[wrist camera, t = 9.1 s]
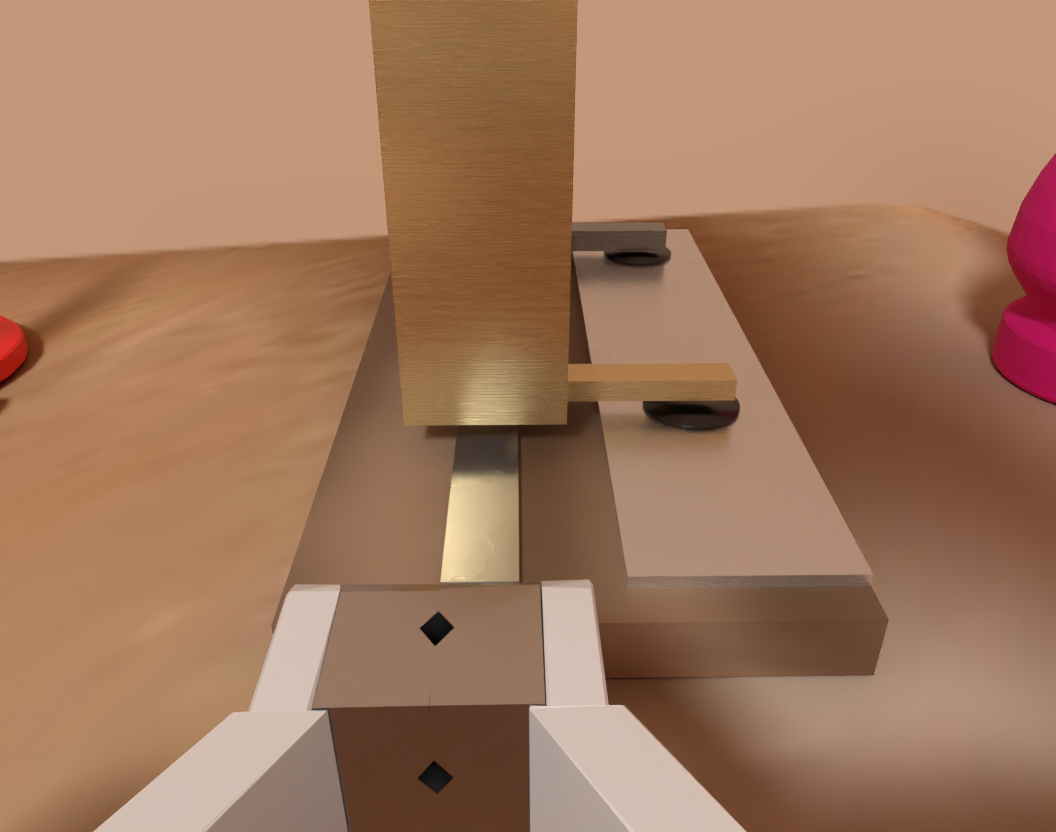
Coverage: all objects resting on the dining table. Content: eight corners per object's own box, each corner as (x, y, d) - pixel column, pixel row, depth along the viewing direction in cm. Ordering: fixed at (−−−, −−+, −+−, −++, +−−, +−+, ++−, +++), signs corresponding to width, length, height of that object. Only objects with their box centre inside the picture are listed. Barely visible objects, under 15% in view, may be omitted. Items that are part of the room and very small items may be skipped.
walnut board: (282, 681, 18) (271, 626, 17) (407, 263, 38) (405, 229, 38) (873, 675, 18) (888, 620, 17) (680, 261, 39) (683, 228, 38)
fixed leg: (441, 276, 32) (408, -347, 24) (448, 240, 36) (422, -315, 27) (670, 274, 33) (724, -346, 24) (655, 239, 36) (697, -314, 27)
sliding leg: (404, 432, 22) (320, -579, 13) (419, 360, 25) (361, -476, 16) (747, 430, 22) (895, -576, 13) (715, 357, 25) (815, -475, 16)
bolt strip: (440, 589, 18) (440, 574, 18) (478, 237, 37) (478, 227, 37) (870, 585, 18) (874, 570, 18) (687, 236, 37) (688, 227, 37)
